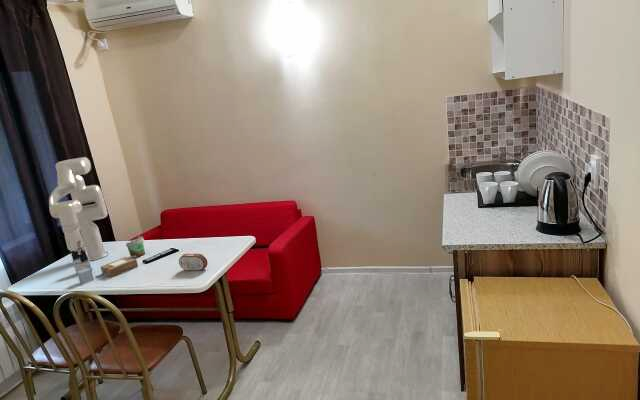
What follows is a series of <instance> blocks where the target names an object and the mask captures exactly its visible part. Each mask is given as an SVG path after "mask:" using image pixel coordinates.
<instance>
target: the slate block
mask: <svg viewBox="0 0 640 400" xmlns="http://www.w3.org/2000/svg"><path fill="white" fill-rule="evenodd" d="M92 272H93V270H92V271H91V269H88V268H86V269H83V270H80V271H78V272H77V274H78V275H77V274H76V275H77V277H78V279H79V283H80V284H83V285H85V284H88V283H90V282H93V281H95V278H94V275H93V273H92Z"/></svg>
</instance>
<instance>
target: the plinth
mask: <svg viewBox="0 0 640 400" xmlns="http://www.w3.org/2000/svg"><path fill="white" fill-rule="evenodd" d="M138 267H139V264H138V261H137V258H135V259H132V258H131V257H127V256H125V257H122V258H120V259H117V260H114V261H111V262H110V263H107V264H104V265H102V266H100V271H101V273H102V275H106V276H107V277H112V278H114V277H117V276H119V275H121V274H123V273H127V272H130V271H131V270H134V269H136V268H138Z"/></svg>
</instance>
